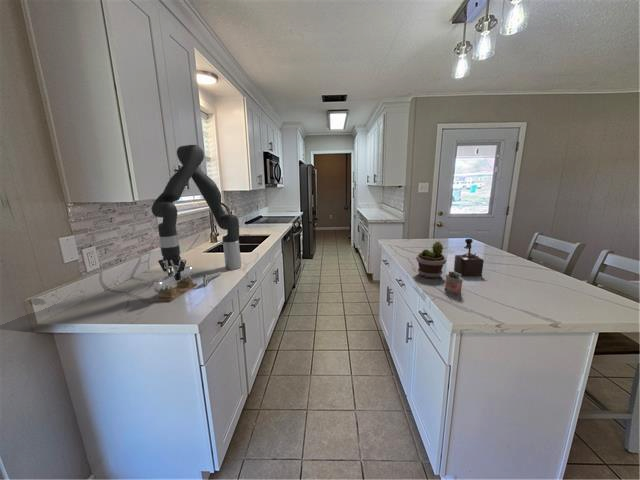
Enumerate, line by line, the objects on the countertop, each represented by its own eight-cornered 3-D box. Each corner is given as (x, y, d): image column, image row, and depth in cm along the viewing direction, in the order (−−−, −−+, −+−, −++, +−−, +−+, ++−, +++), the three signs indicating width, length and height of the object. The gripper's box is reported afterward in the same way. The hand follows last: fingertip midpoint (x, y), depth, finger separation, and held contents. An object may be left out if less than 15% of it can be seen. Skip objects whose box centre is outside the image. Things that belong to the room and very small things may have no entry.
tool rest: (183, 284, 132) (181, 273, 131) (197, 285, 131) (195, 274, 130) (154, 300, 114) (152, 288, 113) (169, 301, 113) (167, 289, 112)
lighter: (442, 289, 119) (444, 269, 117) (447, 288, 121) (449, 268, 119) (457, 296, 112) (459, 275, 110) (462, 295, 114) (465, 274, 111)
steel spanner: (188, 273, 133) (187, 266, 132) (194, 273, 132) (193, 266, 131) (153, 291, 110) (151, 283, 110) (159, 292, 110) (157, 283, 109)
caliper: (205, 287, 129) (204, 275, 127) (203, 287, 129) (202, 275, 127) (222, 273, 149) (221, 263, 147) (220, 273, 149) (219, 263, 147)
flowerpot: (422, 281, 130) (425, 243, 126) (411, 271, 145) (413, 237, 141) (450, 280, 131) (454, 242, 126) (436, 270, 146) (438, 236, 141)
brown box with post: (483, 276, 135) (488, 243, 131) (462, 276, 135) (466, 244, 131) (467, 267, 150) (470, 237, 146) (448, 267, 150) (451, 237, 146)
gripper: (188, 243, 120) (193, 277, 124) (162, 242, 122) (168, 276, 126) (177, 247, 113) (182, 283, 116) (150, 246, 115) (156, 282, 119)
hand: (175, 279), depth 121 cm, fingers closed on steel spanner, 3 cm apart
